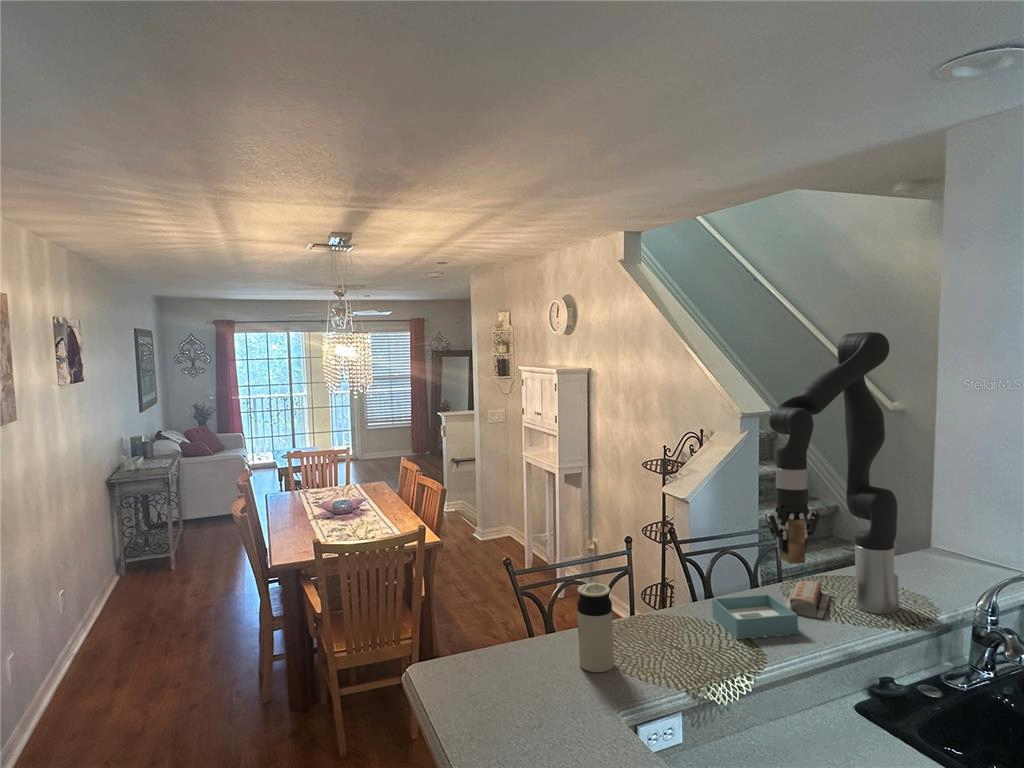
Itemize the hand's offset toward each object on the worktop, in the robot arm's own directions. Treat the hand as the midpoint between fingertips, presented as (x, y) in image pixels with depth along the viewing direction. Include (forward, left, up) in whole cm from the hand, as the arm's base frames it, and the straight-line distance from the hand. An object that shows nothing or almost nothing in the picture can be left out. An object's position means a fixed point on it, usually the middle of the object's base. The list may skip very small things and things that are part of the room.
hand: (792, 552), depth 156 cm
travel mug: (+54, +9, -20) cm, 58 cm away
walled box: (+9, -4, -20) cm, 22 cm away
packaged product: (-12, -14, -20) cm, 28 cm away
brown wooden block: (0, 0, -2) cm, 2 cm away
